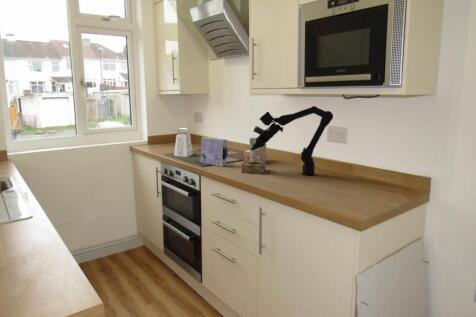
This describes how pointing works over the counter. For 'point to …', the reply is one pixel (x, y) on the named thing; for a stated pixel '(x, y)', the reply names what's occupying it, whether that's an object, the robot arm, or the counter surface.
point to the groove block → (254, 167)
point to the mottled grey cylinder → (253, 151)
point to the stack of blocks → (261, 154)
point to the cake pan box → (214, 151)
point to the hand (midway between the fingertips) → (252, 149)
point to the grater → (183, 144)
